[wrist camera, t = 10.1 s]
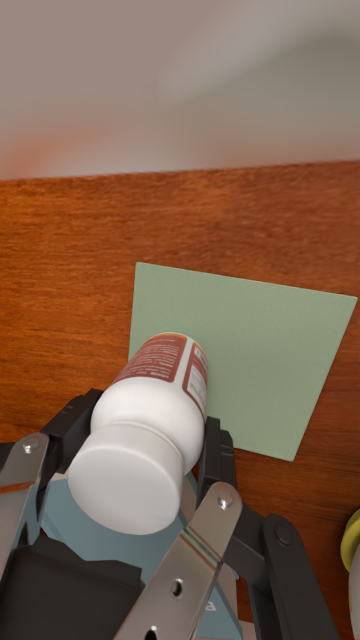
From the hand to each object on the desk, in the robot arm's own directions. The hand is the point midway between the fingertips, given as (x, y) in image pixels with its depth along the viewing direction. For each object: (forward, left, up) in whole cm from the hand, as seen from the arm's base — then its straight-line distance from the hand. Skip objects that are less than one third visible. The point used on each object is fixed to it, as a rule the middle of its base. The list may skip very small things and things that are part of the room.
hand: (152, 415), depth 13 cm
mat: (0, +4, -8) cm, 9 cm away
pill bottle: (0, 0, -7) cm, 7 cm away
